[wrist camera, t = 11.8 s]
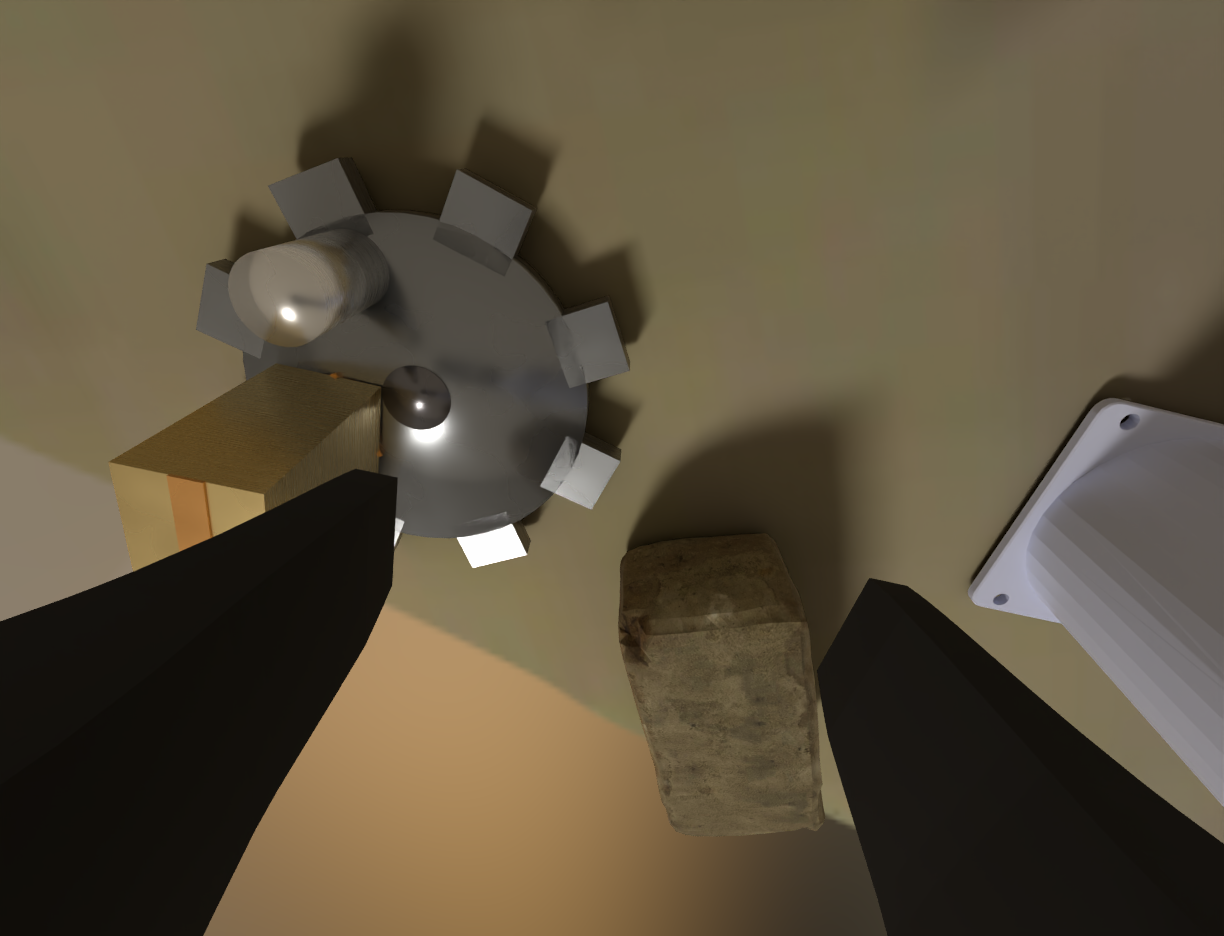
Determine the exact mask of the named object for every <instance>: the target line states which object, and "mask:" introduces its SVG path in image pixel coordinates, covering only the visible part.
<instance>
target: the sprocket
mask: <svg viewBox="0 0 1224 936" xmlns="http://www.w3.org/2000/svg"><path fill="white" fill-rule="evenodd" d="M268 187H269V189H270V190H271V192H272V194H273V196H274V198H275V200H276V202H277V204H278V205H279V207H280V209H281V211H282V213H283V215H284V217H285V218H286V220H287V222H288V224H289V226H290V228H291V230H292V231H293V233H294V235H295V237H296V239H297V240H294V241H290V242H286V243H283V244H279V245H275V246H271V247H268V248H264V249H260V250H256V251H253V252H249V253H247V254H245V255H243V256H242V257H240V258H239V259H238V260H237V261H236V262H235V263H233V262H231V261H229V260H227V259H223V260H219V261H215V262H212V263H208V264H207V265H206V271H205V277H204V283H203V290H202V296H201V302H200V308H199V315H198V321H197V327H196V330H198V331H200V332H202V333H204V334H207V335H209V336H211V337H213V338H215V339H218V340H220V341H222V342H224V343H226V344H228V345H231V346H233V347H235V348H237V349H239V350H242V351H243V362H244V368H245V374H246V380H249V379H250V378H252V377H254V376H255V375H257V374H259V373H261V372H262V371H264V370H266V369H267V368H269V367H271V366H272V365H274V364H276V363H278V364H282V365H287V366H291V367H296V368H300V369H305V370H309V371H313V372H318V373H322V374H327V375H331V376H336V377H340V378H345V379H349V380H354V381H358V382H363V383H367V384H372V385H376V386H381V410H380V440H379V470H378V473H379V474H383V475H388V476H393V477H398V484H397V503H396V522H395V540H394V551H395V549H396V547H397V546H398V543H399V541H400V539H401V536H402V534H403V533H406V534H410V535H416V536H423V537H433V538H457V539H458V541H459V542H460V544H461V546H462V548H463V550H464V552H465V554H466V556H467V557H468V559H469V561H470V563H471V565H472V567H478V566H482V565H486V564H490V563H495V562H499V561H503V560H507V559H511V558H516V557H520V556H524V555H527V553H528V549H529V545H530V542H531V540H530V538H529V536H528V534H527V532H526V529H525V527H524V525H523V523H522V521H521V519H522V518H524V517H526V516H527V515H529V514H530V513H532V512H533V511H535V510H536V509H537V508H539V507H540V506H541V505H542V504H543V503H544V502H546V501H547V500H548V499H549V498H550V497H551V496H552V495H553V494H554V493H556V494H558V495H560V496H562V497H565V498H567V499H569V500H571V501H573V502H576V503H578V504H580V505H582V506H584V507H587V508H589V509H592V508H593V506H594V504H595V503H596V501H597V499H598V498H599V496H600V494H601V493H602V491H603V489H604V488H605V486H606V484H607V483H608V481H609V479H610V478H611V476H612V474H613V473H614V471H615V469H616V468H617V466H618V464H619V463H620V459H621V449H619V448H617V447H615V446H613V445H611V444H609V443H607V442H605V441H603V440H601V439H599V438H596V437H594V436H592V435H590V434H588V433H586V432H585V428H586V423H587V416H588V409H589V382H593V381H596V380H599V379H603V378H606V377H610V376H613V375H617V374H620V373H624V372H627V371H630V360H629V357H628V353H627V350H626V347H625V344H624V341H623V338H622V334H621V331H620V328H619V325H618V322H617V319H616V315H615V312H614V309H613V306H612V303H611V299H610V296H609V295H608V296H605V297H602V298H599V299H595V300H592V301H589V302H586V303H583V304H580V305H576V306H573V307H570V308H567V309H564V307H563V305H562V303H561V302H560V300H559V299H558V297H557V296H556V295H555V293H554V292H553V291H552V289H551V288H550V287H549V285H548V284H547V283H546V281H545V280H544V279H543V278H542V277H541V276H540V275H539V274H538V273H537V272H536V271H535V270H534V269H533V268H532V267H531V266H530V265H529V264H528V263H527V262H526V261H525V260H524V259H522V258H521V257H520V256H519V255H518V253H519V251H520V248H521V246H522V244H523V241H524V239H525V236H526V234H527V231H528V229H529V227H530V224H531V222H532V219H533V217H534V215H535V212H536V210H537V208H536V207H535V206H533V205H531V204H529V203H527V202H526V201H524V200H522V199H520V198H518V197H517V196H515V195H513V194H511V193H509V192H507V191H506V190H504V189H502V188H500V187H498V186H497V185H495V184H493V183H491V182H489V181H488V180H486V179H484V178H482V177H480V176H478V175H477V174H475V173H473V172H471V171H469V170H468V169H466V168H464V169H457V170H456V173H455V176H454V179H453V182H452V185H451V188H450V191H449V194H448V197H447V200H446V202H445V205H444V208H443V211H442V214H441V216H440V215H437V214H431V213H425V212H419V211H413V210H382V211H377V210H376V208H375V206H374V204H373V202H372V199H371V197H370V195H369V193H368V191H367V189H366V187H365V184H364V182H363V180H362V178H361V176H360V174H359V172H358V169H357V167H356V165H355V163H354V161H353V159H352V158H336V159H334V160H331V161H329V162H326V163H324V164H321V165H319V166H316V167H314V168H311V169H309V170H306V171H304V172H301V173H299V174H296V175H294V176H291V177H289V178H286V179H284V180H281V181H279V182H276V183H274V184H271V185H269V186H268Z"/></svg>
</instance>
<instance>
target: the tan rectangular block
mask: <svg viewBox="0 0 1224 936" xmlns="http://www.w3.org/2000/svg"><path fill="white" fill-rule="evenodd" d="M380 410H381V386H376V385H372V384H367V383H363V382H358V381H354V380H349V379H345V378H340V377H336V376H331V375H327V374H322V373H318V372H313V371H309V370H305V369H300V368H296V367H291V366H287V365H282V364H278V363H276V364H274V365H272V366H271V367H269V368H267V369H266V370H264V371H262V372H261V373H259V374H257V375H255V376H254V377H252V378H250V379H249V380H247V381H245V382H244V383H242V384H240V385H239V386H237V387H235V388H233V389H232V390H230V391H228V392H227V393H225V394H223V395H222V396H220V397H218V398H216V399H215V400H213V401H211V402H210V403H208V404H206V405H205V406H203V407H201V408H199V409H198V410H196V411H194V412H193V413H191V414H189V415H188V416H186V417H184V418H183V419H181V420H179V421H177V422H176V423H174V424H172V425H171V426H169V427H167V428H166V429H164V430H162V431H160V432H159V433H157V434H155V435H154V436H152V437H150V438H149V439H147V440H145V441H143V442H142V443H140V444H138V445H137V446H135V447H133V448H132V449H130V450H128V451H127V452H125V453H123V454H121V455H120V456H118V457H116V458H115V459H113V460H111V461H110V462H109V467H110V471H111V475H112V480H113V484H114V489H115V493H116V498H117V502H118V507H119V511H120V515H121V520H122V524H123V528H124V533H125V538H126V542H127V546H128V551H129V555H130V559H131V564H132V569H133V572H134V571H136V570H138V569H140V568H143V567H145V566H147V565H150V564H152V563H154V562H157V561H159V560H161V559H163V558H166V557H168V556H170V555H173V554H175V553H177V552H180V551H182V550H184V549H186V548H189V547H191V546H193V545H196V544H198V543H200V542H202V541H205V540H207V539H209V538H212V537H214V536H216V535H219V534H221V533H223V532H225V531H227V530H229V529H231V528H233V527H235V526H237V525H240V524H242V523H244V522H246V521H248V520H250V519H252V518H254V517H256V516H258V515H260V514H262V513H264V512H267V511H269V510H271V509H273V508H275V507H277V506H279V505H281V504H283V503H285V502H287V501H289V500H291V499H293V498H295V497H297V496H299V495H301V494H303V493H305V492H307V491H309V490H311V489H313V488H315V487H317V486H319V485H321V484H323V483H325V482H327V481H329V480H332V479H334V478H336V477H338V476H340V475H342V474H344V473H347V472H349V471H351V470H354V469H360V470H365V471H369V472H374V473H378V470H379V440H380Z"/></svg>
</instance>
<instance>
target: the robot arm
mask: <svg viewBox="0 0 1224 936" xmlns="http://www.w3.org/2000/svg"><path fill="white" fill-rule="evenodd" d="M1129 414H1130V416H1129V418H1128V419H1127V420H1126V421H1125V422H1124V423H1121V424H1120V422H1121V420H1122V419H1123V418H1124V417H1125V416H1127V415H1129ZM397 484H398V477H393V476H388V475H383V474H379V473H374V472H369V471H365V470H360V469H354V470H351V471H349V472H347V473H344V474H342V475H340V476H338V477H336V478H334V479H332V480H329V481H327V482H325V483H323V484H321V485H319V486H317V487H315V488H313V489H311V490H309V491H307V492H305V493H303V494H301V495H299V496H297V497H295V498H293V499H291V500H289V501H287V502H285V503H283V504H281V505H279V506H277V507H275V508H273V509H271V510H269V511H267V512H264V513H262V514H260V515H258V516H256V517H254V518H252V519H250V520H248V521H246V522H244V523H242V524H240V525H237V526H235V527H233V528H231V529H229V530H227V531H225V532H223V533H221V534H219V535H216V536H214V537H212V538H209V539H207V540H205V541H202V542H200V543H198V544H196V545H193V546H191V547H189V548H186V549H184V550H182V551H180V552H177V553H175V554H173V555H170V556H168V557H166V558H163V559H161V560H159V561H157V562H154V563H152V564H150V565H147V566H145V567H143V568H140V569H138V570H136V571H134V572H131V573H129V574H127V575H124V576H122V577H119V578H116V579H114V580H112V581H109V582H106V583H104V584H102V585H99V586H96V587H94V588H91V589H88V590H86V591H83V592H81V593H78V594H75V595H73V596H70V597H68V598H65V599H62V600H59V601H56V602H54V603H51V604H48V605H45V606H42V607H40V608H37V609H34V610H31V611H28V612H26V613H23V614H20V615H17V616H14V617H12V618H9V619H6V620H3V621H0V936H203V935H204V933H205V931H206V929H207V927H208V925H209V922H210V920H211V918H212V916H213V914H214V912H215V910H216V908H217V906H218V904H219V902H220V900H221V898H222V896H223V894H224V892H225V890H226V888H227V886H228V884H229V882H230V880H231V878H232V876H233V873H234V872H235V870H236V868H237V866H238V864H239V862H240V860H241V857H242V856H243V853H244V852H245V850H246V848H247V846H248V843H249V841H250V839H251V837H252V835H253V833H254V831H255V829H256V828H257V826H258V824H259V822H260V821H261V819H262V817H263V815H264V813H265V812H266V810H267V808H268V806H269V804H270V803H271V801H272V799H273V797H274V796H275V794H276V792H277V790H278V789H279V787H280V785H281V784H282V782H283V780H284V779H285V777H286V776H287V774H288V772H289V770H290V769H291V767H292V766H293V764H294V762H295V761H296V759H297V757H298V756H299V754H300V753H301V751H302V749H303V748H304V746H305V744H306V743H307V741H308V739H309V738H310V736H311V734H312V733H313V731H314V730H315V728H316V726H317V725H318V723H319V721H320V720H321V718H322V716H323V715H324V713H325V711H326V710H327V708H328V707H329V705H330V703H331V702H332V700H333V698H334V697H335V695H336V693H337V692H338V690H339V688H340V687H341V685H342V683H343V682H344V680H345V678H346V677H347V675H348V673H349V672H350V670H351V668H352V667H353V665H354V663H355V662H356V660H357V658H358V657H359V655H360V653H361V652H362V650H363V648H364V646H365V645H366V643H367V640H368V638H369V636H370V634H371V632H372V629H373V627H374V625H375V623H376V621H377V618H378V616H379V614H380V612H381V610H382V607H383V605H384V603H385V600H386V598H387V596H388V594H389V591H390V589H391V587H392V578H393V559H394V540H395V522H396V503H397ZM999 594H1001V595H1000V596H998V597H996V596H997V595H999ZM968 596H969V597H970V598H971V600H972V601H973V602H974V603H975V604H976V605H978V606H981V607H986V608H991V609H995V610H1000V611H1005V612H1010V613H1014V614H1019V615H1024V616H1028V617H1033V618H1038V619H1043V620H1047V621H1052V622H1057V623H1061V624H1063V626H1064V627H1065V628H1066V629H1067V630H1068V631H1069V632H1070V634H1071V635H1072V636H1073V637H1074V638H1075V639H1076V640H1077V641H1078V643H1079V644H1080V645H1081V646H1082V647H1083V648H1084V649H1085V651H1086V652H1087V653H1088V654H1089V655H1090V656H1091V657H1092V658H1093V660H1094V661H1095V662H1096V663H1097V664H1098V665H1099V666H1100V667H1101V669H1102V670H1103V671H1104V672H1105V673H1106V674H1107V675H1108V677H1109V678H1110V679H1111V680H1112V681H1113V682H1114V683H1115V684H1116V686H1117V687H1118V688H1119V689H1120V690H1121V691H1122V692H1123V694H1124V695H1125V696H1126V697H1127V698H1128V699H1129V700H1130V701H1131V703H1132V704H1133V705H1134V706H1135V707H1136V708H1137V709H1138V710H1139V712H1140V713H1141V714H1142V715H1143V716H1144V717H1145V718H1146V720H1147V721H1148V722H1149V723H1150V724H1151V725H1152V726H1153V727H1154V729H1155V730H1156V731H1157V732H1158V733H1159V734H1160V735H1161V737H1162V738H1163V739H1164V740H1165V741H1166V742H1167V743H1168V744H1169V746H1170V747H1171V748H1172V749H1173V750H1174V751H1175V752H1176V753H1177V755H1178V756H1179V757H1180V758H1181V759H1182V760H1183V761H1184V763H1185V764H1186V765H1187V766H1188V767H1189V768H1190V769H1191V770H1192V772H1193V773H1194V774H1195V775H1196V776H1197V777H1198V778H1199V780H1200V781H1201V782H1202V783H1203V784H1204V785H1205V786H1206V787H1207V789H1208V790H1209V791H1210V792H1211V793H1212V794H1213V795H1214V796H1215V798H1216V799H1217V800H1218V801H1219V802H1220V803H1221V804H1222V806H1223V807H1224V424H1221V423H1217V422H1213V421H1208V420H1204V419H1200V418H1196V417H1192V416H1188V415H1184V414H1180V413H1175V412H1171V411H1167V410H1163V409H1159V408H1155V407H1151V406H1147V405H1142V404H1138V403H1134V402H1130V401H1126V400H1122V399H1118V398H1108V399H1104V400H1102V401H1100V402H1098V403H1097V404H1095V405H1094V407H1093V408H1092V409H1091V410H1090V411H1089V413H1088V414H1087V416H1086V417H1085V419H1084V420H1083V421H1082V423H1081V424H1080V426H1079V427H1078V429H1077V430H1076V432H1075V433H1074V435H1073V436H1072V438H1071V439H1070V441H1069V442H1068V443H1067V445H1066V446H1065V448H1064V449H1063V451H1062V452H1061V454H1060V455H1059V457H1058V458H1057V460H1056V461H1055V463H1054V464H1053V465H1052V467H1051V468H1050V470H1049V471H1048V473H1047V474H1046V476H1045V477H1044V479H1043V480H1042V482H1041V483H1040V485H1039V486H1038V487H1037V489H1036V490H1035V492H1034V493H1033V495H1032V496H1031V498H1030V499H1029V501H1028V502H1027V504H1026V505H1025V507H1024V508H1023V509H1022V511H1021V512H1020V514H1019V515H1018V517H1017V518H1016V520H1015V521H1014V523H1013V524H1012V526H1011V527H1010V529H1009V530H1008V531H1007V533H1006V534H1005V536H1004V537H1003V539H1002V540H1001V542H1000V543H999V545H998V546H997V548H996V549H995V551H994V552H993V553H992V555H991V556H990V558H989V559H988V561H987V562H986V564H985V565H984V567H983V568H982V570H981V571H980V573H979V574H978V575H977V577H976V578H975V580H974V581H973V583H972V584H971V586H970V587H969V590H968ZM817 673H818V680H819V687H820V694H821V701H822V707H823V712H824V718H825V723H826V729H827V734H828V738H829V741H830V745H831V748H832V752H833V755H834V758H835V762H836V765H837V768H838V772H839V775H840V778H841V782H842V785H843V788H844V792H845V795H846V798H847V801H848V804H849V808H850V811H851V814H852V817H853V821H854V824H855V827H856V830H857V833H858V836H859V840H860V843H861V846H862V850H863V853H864V856H865V859H866V862H867V866H868V869H869V872H870V875H871V879H872V882H873V885H874V888H875V892H876V894H877V898H878V902H879V906H880V909H881V913H882V917H883V920H884V924H885V928H886V931H887V935H888V936H1224V844H1223V843H1222V842H1220V841H1219V840H1218V839H1216V838H1215V837H1214V836H1212V835H1211V834H1210V833H1208V832H1207V831H1206V830H1204V829H1203V828H1201V827H1200V826H1199V825H1197V824H1196V823H1195V822H1193V821H1192V820H1191V819H1189V818H1188V817H1187V816H1185V815H1184V814H1183V813H1181V812H1180V811H1178V810H1177V809H1176V808H1175V807H1173V806H1172V805H1171V804H1169V803H1168V802H1167V801H1165V800H1164V799H1163V798H1162V797H1160V796H1159V795H1158V794H1156V793H1155V792H1154V791H1152V790H1151V789H1150V788H1149V787H1147V786H1146V785H1145V784H1144V783H1142V782H1141V781H1140V780H1138V779H1137V778H1136V777H1135V776H1134V775H1132V774H1131V773H1130V772H1129V771H1127V770H1126V769H1125V768H1124V767H1122V766H1121V765H1120V764H1119V763H1117V762H1116V761H1115V760H1114V759H1113V758H1111V757H1110V756H1109V755H1108V754H1106V753H1105V752H1104V751H1103V750H1101V749H1100V748H1099V747H1098V746H1097V745H1095V744H1094V743H1093V742H1092V741H1090V740H1089V739H1088V738H1087V737H1085V736H1084V735H1083V734H1082V733H1081V732H1079V731H1078V730H1077V729H1076V728H1075V727H1074V726H1072V725H1071V724H1070V723H1069V722H1068V721H1066V720H1065V719H1064V718H1063V717H1062V716H1060V715H1059V714H1058V713H1057V712H1056V711H1055V710H1053V709H1052V708H1051V707H1050V706H1049V705H1048V704H1046V703H1045V702H1044V701H1043V700H1042V699H1041V698H1039V697H1038V696H1037V695H1036V694H1035V693H1034V692H1032V691H1031V690H1030V689H1029V688H1028V687H1027V686H1026V685H1024V684H1023V683H1022V682H1021V681H1020V680H1019V679H1018V678H1016V677H1015V676H1014V675H1013V674H1012V673H1011V672H1009V671H1008V670H1007V669H1006V668H1005V667H1004V666H1003V665H1001V664H1000V663H999V662H998V661H997V660H996V659H995V658H994V657H992V656H991V655H990V654H989V653H988V652H987V651H986V650H984V649H983V648H982V647H981V646H980V645H979V644H978V643H976V642H975V641H974V640H973V639H972V638H971V637H970V636H968V635H967V634H966V633H965V632H964V631H963V630H961V629H960V628H959V627H958V626H957V625H956V624H954V623H953V622H952V621H951V620H950V619H949V618H947V617H946V616H945V615H944V614H943V613H941V612H940V611H939V610H938V609H937V608H935V607H934V606H933V605H932V604H931V603H929V602H928V601H927V600H925V599H924V598H923V597H922V596H920V595H919V594H918V593H916V592H915V591H913V590H912V589H911V588H909V587H908V586H905V585H900V584H895V583H891V582H886V581H881V580H877V579H872V578H869V580H868V581H867V583H866V585H865V587H864V588H863V590H862V592H861V594H860V595H859V597H858V599H857V601H856V603H855V604H854V606H853V608H852V610H851V611H850V613H849V615H848V617H847V618H846V620H845V622H844V624H843V625H842V627H841V629H840V631H839V632H838V634H837V636H836V638H835V640H834V641H833V643H832V645H831V647H830V648H829V650H828V652H827V654H826V655H825V657H824V659H823V661H822V662H821V664H820V666H819V668H818V670H817Z"/></svg>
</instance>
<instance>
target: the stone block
mask: <svg viewBox="0 0 1224 936" xmlns="http://www.w3.org/2000/svg"><path fill="white" fill-rule="evenodd" d="M620 578H621V580H620V606H619V622H618V629H619V643H620V647H621V651H622V656H623V660H624V663H625V667H626V671H627V675H628V678H629V681H630V685H631V688H632V692H633V696H634V699H635V703H636V706H637V710H638V713H639V716H640V720H641V723H642V726H643V730H644V733H645V736H646V739H647V742H648V746H649V749H650V753H651V757H652V760H653V763H654V766H655V771H656V776H657V782H658V788H659V792H660V796H661V800H662V803H663V805H664V806H665V808H666V811H667V814H668V819H669V822H670V824H671V826H672V827H673V828H674V829H675V831H677V832H679V833H682V834H685V835H692V836H726V835H751V834H764V833H773V832H781V831H793V830H797V829H800V828H807V829H810V830H814V831H817V830H818V828H819V827H820V826H821V825H822V824H823V823H824V819H825V813H824V808H823V802H822V796H821V787H822V776H821V768H820V758H819V732H818V716H817V701H816V688H815V679H814V671H813V665H812V659H811V644H810V632H809V628H808V624H807V620H806V616H805V613H804V609H803V606H802V602H801V598H800V595H799V593H798V591H797V589H796V587H795V585H794V583H793V582H792V580H791V578H790V576H789V573H788V570H787V568H786V566H785V564H784V562H783V560H782V558H781V555H780V552H779V549H778V547H777V544H776V542H775V541H774V540H773V539H772V538H771V537H770V536H769V535H768V534H767V533H759V534H741V535H728V536H717V537H699V538H685V539H676V540H670V541H661V542H656V543H653V544H650V545H643V546H639V547H637V548H635V549H633V550H630V551H627V553H626V554H625V556H624V557H623V558H622V560H621V564H620Z"/></svg>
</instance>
